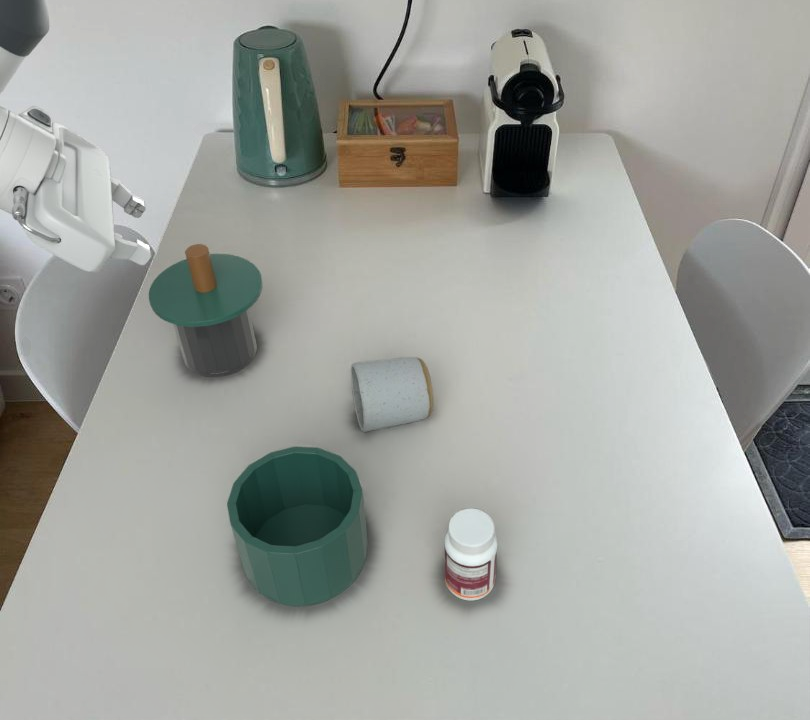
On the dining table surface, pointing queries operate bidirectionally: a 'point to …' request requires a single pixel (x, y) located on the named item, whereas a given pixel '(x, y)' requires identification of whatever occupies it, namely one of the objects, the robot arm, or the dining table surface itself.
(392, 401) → the ceramic mug
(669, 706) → the dining table surface
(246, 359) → the cup
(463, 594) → the pill bottle
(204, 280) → the tin lid
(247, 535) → the tin
